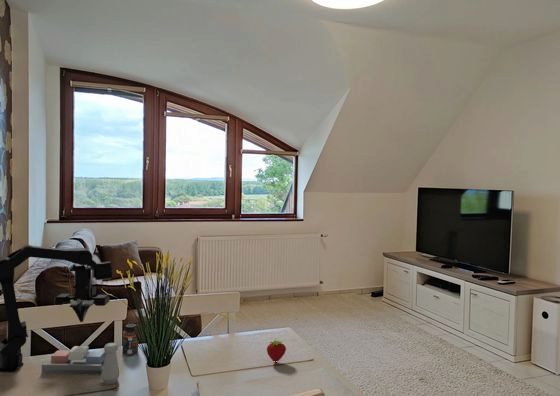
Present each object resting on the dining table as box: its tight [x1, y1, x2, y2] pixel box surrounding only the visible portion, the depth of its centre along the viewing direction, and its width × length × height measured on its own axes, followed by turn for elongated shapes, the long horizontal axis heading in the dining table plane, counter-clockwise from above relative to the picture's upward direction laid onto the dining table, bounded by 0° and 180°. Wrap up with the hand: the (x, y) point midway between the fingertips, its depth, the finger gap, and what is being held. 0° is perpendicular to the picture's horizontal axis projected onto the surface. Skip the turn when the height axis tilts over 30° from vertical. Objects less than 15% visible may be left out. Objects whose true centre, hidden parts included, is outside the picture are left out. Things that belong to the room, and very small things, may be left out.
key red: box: [50, 349, 71, 364], centre depth 154 cm, size 5×5×3 cm
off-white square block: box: [68, 345, 89, 360], centre depth 154 cm, size 5×5×3 cm
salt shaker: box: [100, 342, 121, 386], centre depth 144 cm, size 6×6×13 cm
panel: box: [41, 350, 106, 376], centre depth 154 cm, size 20×12×3 cm, turn 93°
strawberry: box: [266, 338, 287, 362], centre depth 164 cm, size 6×8×10 cm
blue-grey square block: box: [86, 350, 105, 364], centre depth 154 cm, size 5×5×3 cm
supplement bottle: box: [121, 323, 139, 357], centre depth 167 cm, size 6×6×11 cm
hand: (81, 321), depth 163 cm, fingers closed
